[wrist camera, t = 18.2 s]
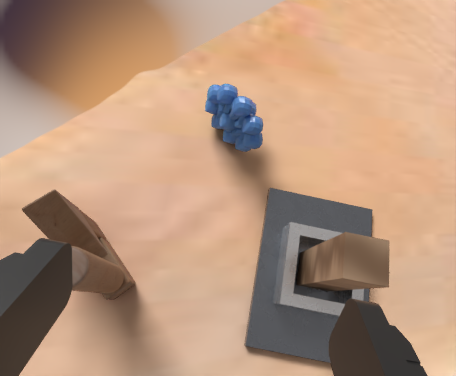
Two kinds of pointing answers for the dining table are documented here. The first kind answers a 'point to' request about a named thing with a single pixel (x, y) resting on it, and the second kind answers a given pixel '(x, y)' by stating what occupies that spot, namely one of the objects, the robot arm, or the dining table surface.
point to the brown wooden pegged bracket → (81, 245)
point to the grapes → (234, 117)
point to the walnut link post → (345, 264)
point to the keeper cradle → (288, 271)
